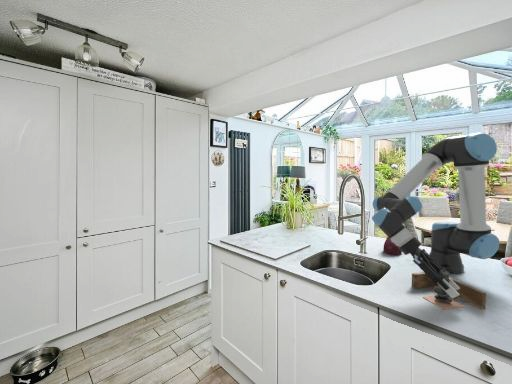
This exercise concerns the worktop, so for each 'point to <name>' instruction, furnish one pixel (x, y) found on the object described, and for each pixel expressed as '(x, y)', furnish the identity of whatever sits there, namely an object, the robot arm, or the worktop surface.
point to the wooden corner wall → (465, 291)
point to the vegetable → (391, 248)
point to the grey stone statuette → (439, 290)
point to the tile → (443, 303)
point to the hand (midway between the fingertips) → (456, 293)
